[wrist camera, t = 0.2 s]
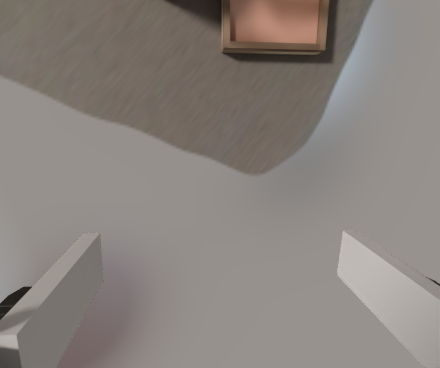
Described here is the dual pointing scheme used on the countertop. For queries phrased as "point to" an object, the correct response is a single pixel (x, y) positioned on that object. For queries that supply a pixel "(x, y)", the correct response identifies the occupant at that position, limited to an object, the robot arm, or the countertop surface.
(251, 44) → the caddy tray
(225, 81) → the countertop surface
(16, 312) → the robot arm
